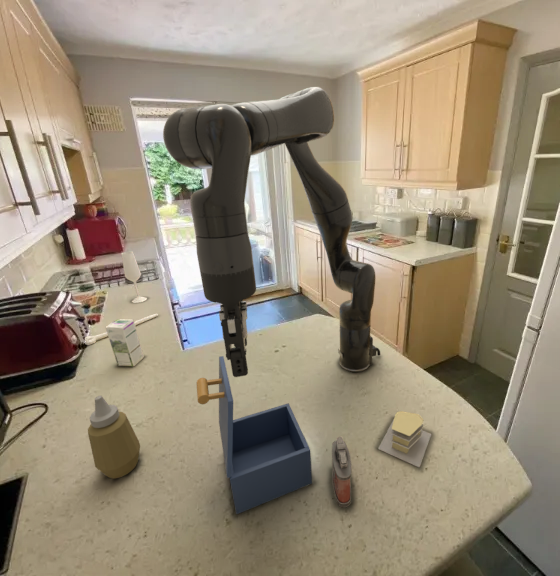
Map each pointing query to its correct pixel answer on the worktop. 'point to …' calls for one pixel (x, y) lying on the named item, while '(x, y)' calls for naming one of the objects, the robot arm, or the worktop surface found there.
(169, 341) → the worktop surface
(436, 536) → the worktop surface
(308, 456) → the box
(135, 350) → the syrup box
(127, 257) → the champagne flute
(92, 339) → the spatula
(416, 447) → the stacked layers on plate
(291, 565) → the worktop surface
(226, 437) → the blue box lid
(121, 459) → the squeeze bottle
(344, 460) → the lighter
